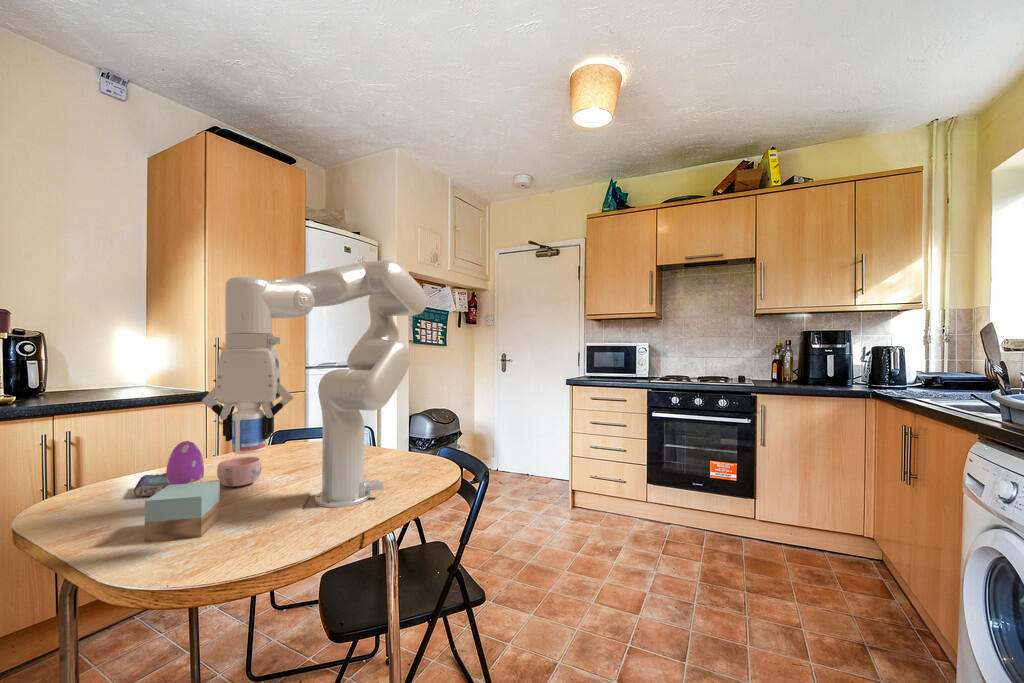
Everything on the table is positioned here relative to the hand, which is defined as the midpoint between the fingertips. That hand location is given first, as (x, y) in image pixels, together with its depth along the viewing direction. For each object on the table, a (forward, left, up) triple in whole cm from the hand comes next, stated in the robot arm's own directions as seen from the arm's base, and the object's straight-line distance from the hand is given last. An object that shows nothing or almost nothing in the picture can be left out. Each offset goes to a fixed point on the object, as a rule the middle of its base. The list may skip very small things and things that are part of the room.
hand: (248, 437), depth 82 cm
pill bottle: (0, 0, -3) cm, 3 cm away
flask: (+30, -37, -20) cm, 52 cm away
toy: (+18, -20, -19) cm, 33 cm away
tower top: (+13, -7, -15) cm, 21 cm away
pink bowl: (+12, -37, -19) cm, 43 cm away
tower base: (+13, -7, -19) cm, 24 cm away
